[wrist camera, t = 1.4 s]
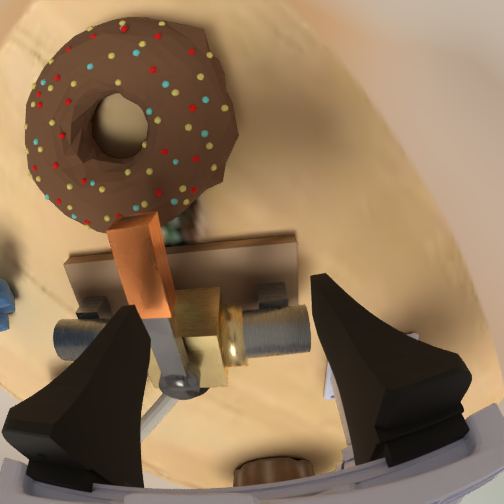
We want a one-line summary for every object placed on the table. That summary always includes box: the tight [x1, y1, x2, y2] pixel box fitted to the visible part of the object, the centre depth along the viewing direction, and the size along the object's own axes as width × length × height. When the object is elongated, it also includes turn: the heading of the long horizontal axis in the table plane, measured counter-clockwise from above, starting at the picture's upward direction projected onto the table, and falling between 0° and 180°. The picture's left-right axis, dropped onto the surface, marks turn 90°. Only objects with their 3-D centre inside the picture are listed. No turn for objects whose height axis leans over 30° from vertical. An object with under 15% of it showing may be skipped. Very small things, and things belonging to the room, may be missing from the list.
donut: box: [24, 17, 239, 233], centre depth 17 cm, size 14×14×5 cm
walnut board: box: [64, 235, 298, 315], centre depth 25 cm, size 18×9×1 cm, turn 95°
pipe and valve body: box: [53, 282, 311, 388], centre depth 22 cm, size 18×5×6 cm, turn 95°
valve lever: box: [106, 211, 201, 400], centre depth 16 cm, size 11×2×2 cm, turn 5°
